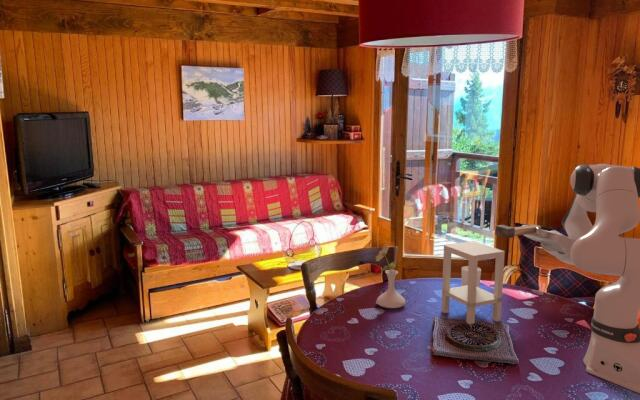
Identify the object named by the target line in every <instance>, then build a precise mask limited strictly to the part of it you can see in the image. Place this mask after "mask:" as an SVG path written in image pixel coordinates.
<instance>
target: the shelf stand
mask: <svg viewBox="0 0 640 400" xmlns="http://www.w3.org/2000/svg"><path fill="white" fill-rule="evenodd" d="M505 252H506V251H505V250H501V249H499V248H497V247H493V246H489V245H486V244H484V243H480V242H478V241H475V240H473V241H472V240H471V241H465V242H457V243H450V244H448V243H447V244H444V245H443V257H442V259H443V261H442V262H443V263H442V285H441V287H442V288H441V289H442V290H441V313H443V314H449V313H450V299H453V300H455V301H456V302H458V303H461V304H463V305H465V306H466V319H465V320H466V322H467V323H469V324H471V323H475V321H476V308H477V307H482V306H487V305H492V304H493V305H492V321H494V322H501V320H502V319H501V318H502V305H503V284H504V269H505V268H504V267H505V254H506V253H505ZM452 254H453V255H455V256H458V257H460V258H463V259H465V260H468V263H467V264H468V265H467V266H468V285H465V286H462V285H461V286H455V287H451V275H452V273H451V270H452ZM491 259H495V263H494V264H495V266H494V284H493V285H494V286H493V293H492V292H489V291H487V290H485V289H483V288H480V286H479V287H476V286H477V267H478V264H479V263H478V262H479V261H485V260H486V261H487V260H491ZM466 322H465V323H466Z"/></svg>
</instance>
